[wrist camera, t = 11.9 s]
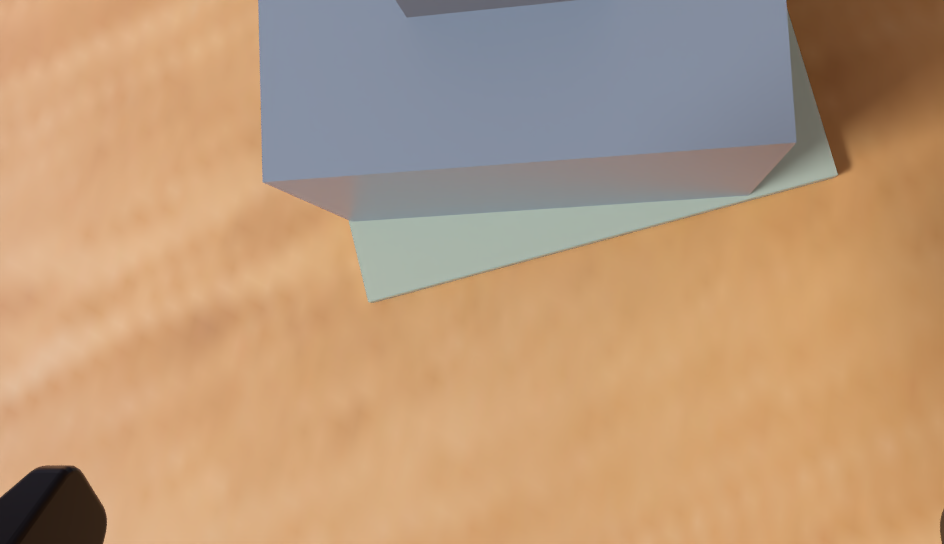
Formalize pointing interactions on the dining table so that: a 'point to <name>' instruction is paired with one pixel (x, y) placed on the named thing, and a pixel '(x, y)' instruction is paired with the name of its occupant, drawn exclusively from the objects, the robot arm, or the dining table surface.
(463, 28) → the cover
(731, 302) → the dining table surface
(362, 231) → the mat
